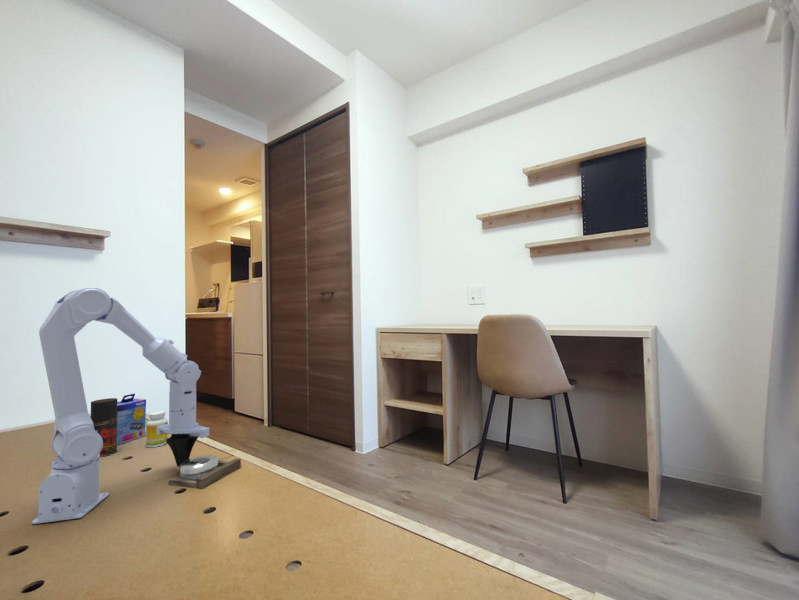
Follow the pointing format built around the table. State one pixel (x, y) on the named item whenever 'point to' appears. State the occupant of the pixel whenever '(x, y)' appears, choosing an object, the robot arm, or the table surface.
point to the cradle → (209, 475)
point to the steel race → (198, 467)
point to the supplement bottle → (155, 429)
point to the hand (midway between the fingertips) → (182, 465)
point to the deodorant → (105, 423)
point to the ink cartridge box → (130, 419)
